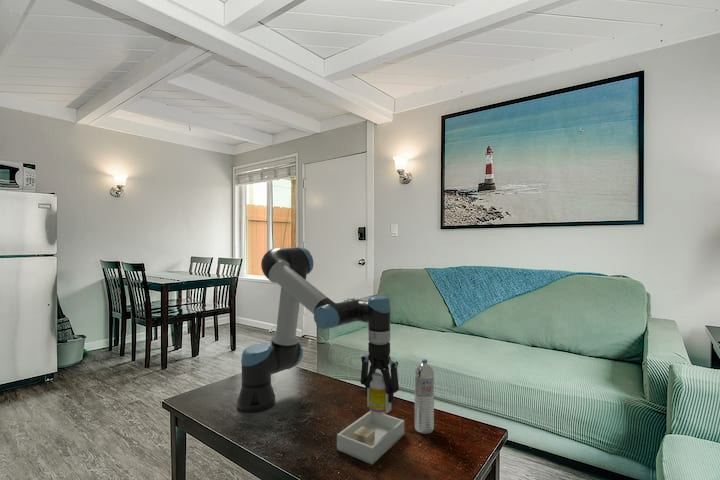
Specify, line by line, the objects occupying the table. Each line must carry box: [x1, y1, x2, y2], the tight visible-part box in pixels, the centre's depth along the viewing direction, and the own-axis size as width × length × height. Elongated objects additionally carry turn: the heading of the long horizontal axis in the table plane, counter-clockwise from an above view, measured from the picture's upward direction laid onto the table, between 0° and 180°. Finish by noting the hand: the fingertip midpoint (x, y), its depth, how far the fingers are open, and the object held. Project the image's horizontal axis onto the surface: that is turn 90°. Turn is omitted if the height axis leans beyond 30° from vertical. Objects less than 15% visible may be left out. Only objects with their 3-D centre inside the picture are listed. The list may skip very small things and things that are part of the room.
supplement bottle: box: [369, 371, 387, 415], centre depth 128 cm, size 7×7×13 cm
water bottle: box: [414, 358, 435, 435], centre depth 132 cm, size 7×7×25 cm
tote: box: [336, 410, 405, 466], centre depth 124 cm, size 14×21×5 cm, turn 145°
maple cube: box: [353, 426, 375, 446], centre depth 120 cm, size 5×5×5 cm
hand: (379, 408), depth 128 cm, fingers closed on supplement bottle, 7 cm apart
